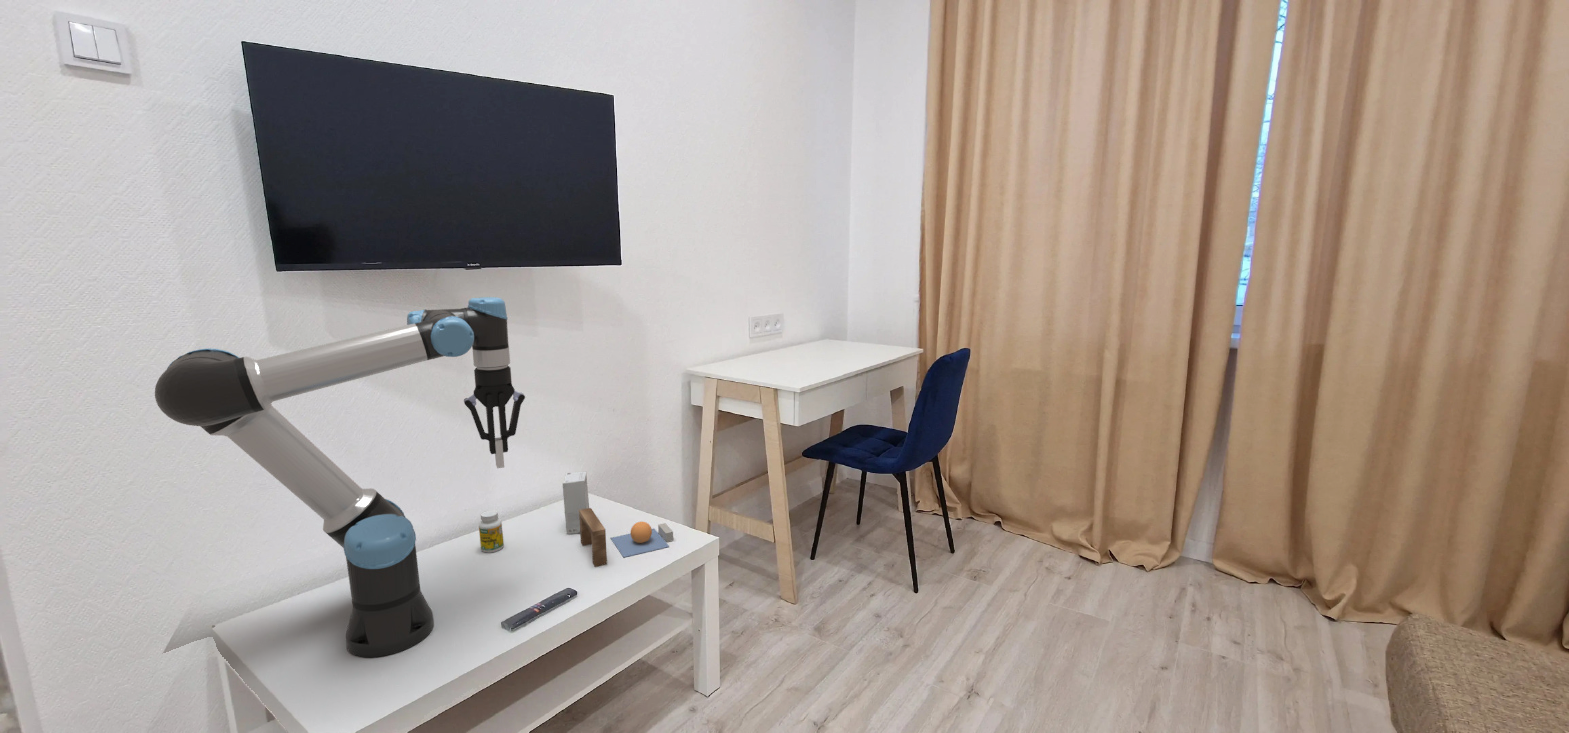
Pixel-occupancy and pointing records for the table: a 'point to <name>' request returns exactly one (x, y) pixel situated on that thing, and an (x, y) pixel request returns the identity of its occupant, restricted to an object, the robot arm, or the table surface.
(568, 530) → the skincare box
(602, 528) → the bridge
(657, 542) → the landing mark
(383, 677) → the table surface
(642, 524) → the ball
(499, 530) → the supplement bottle
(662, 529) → the stopper
